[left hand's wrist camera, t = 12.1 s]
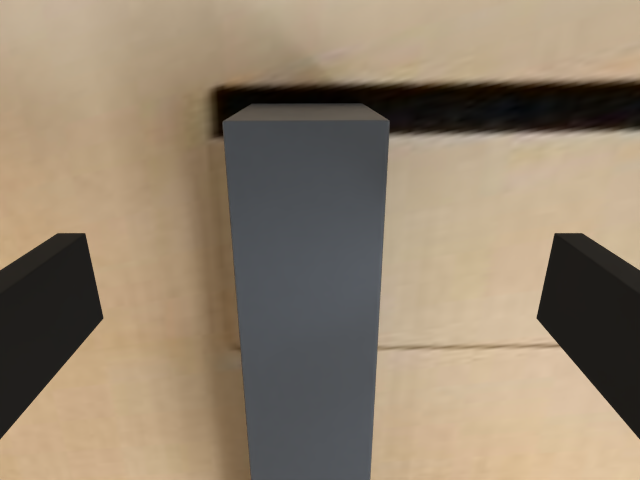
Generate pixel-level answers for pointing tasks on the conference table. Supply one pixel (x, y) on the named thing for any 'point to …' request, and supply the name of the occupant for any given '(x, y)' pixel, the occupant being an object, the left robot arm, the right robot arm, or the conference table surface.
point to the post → (308, 282)
